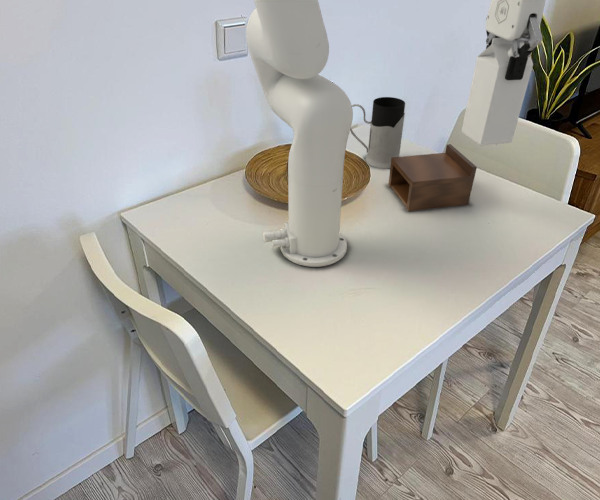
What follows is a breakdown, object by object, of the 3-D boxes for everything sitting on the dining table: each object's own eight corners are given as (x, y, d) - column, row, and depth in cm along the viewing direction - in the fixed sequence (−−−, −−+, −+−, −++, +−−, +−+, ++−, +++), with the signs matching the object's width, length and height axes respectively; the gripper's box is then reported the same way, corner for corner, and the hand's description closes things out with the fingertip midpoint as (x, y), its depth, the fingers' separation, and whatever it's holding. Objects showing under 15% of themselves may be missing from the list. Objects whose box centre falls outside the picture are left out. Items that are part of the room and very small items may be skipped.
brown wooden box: (408, 211, 109) (414, 173, 103) (388, 185, 118) (392, 149, 113) (468, 204, 111) (477, 167, 106) (443, 179, 121) (450, 144, 116)
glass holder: (398, 170, 125) (406, 110, 116) (341, 163, 127) (344, 104, 119) (401, 155, 132) (409, 97, 123) (347, 149, 134) (350, 92, 126)
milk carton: (460, 132, 104) (481, 33, 93) (491, 130, 106) (515, 32, 95) (480, 146, 98) (505, 42, 88) (511, 143, 100) (540, 41, 89)
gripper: (481, -42, 91) (461, 61, 101) (537, -29, 77) (508, 88, 87) (519, -41, 92) (495, 60, 102) (581, -29, 78) (547, 86, 89)
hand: (501, 72), depth 95 cm, fingers closed on milk carton, 7 cm apart
